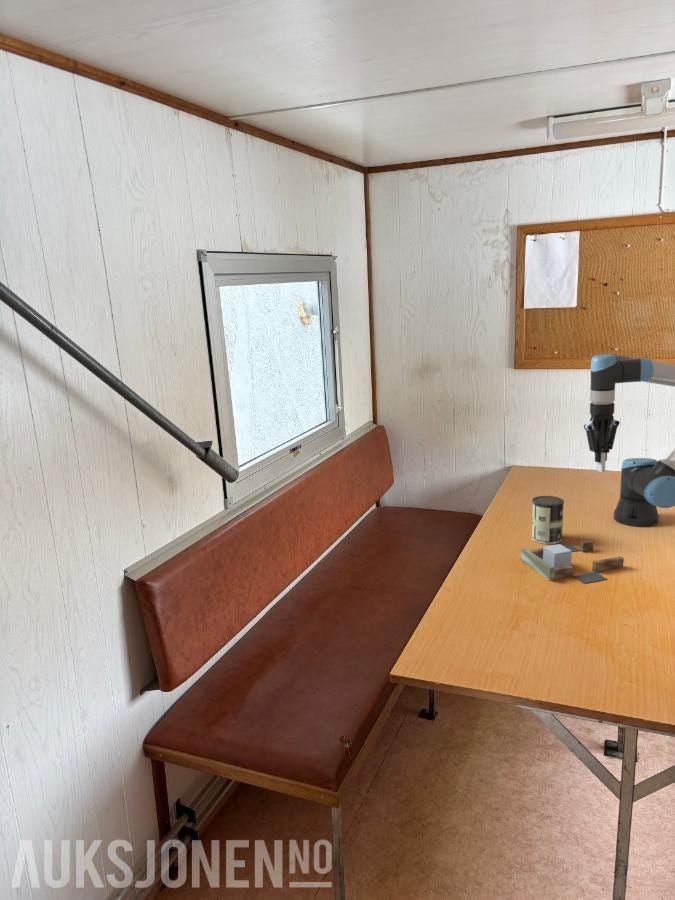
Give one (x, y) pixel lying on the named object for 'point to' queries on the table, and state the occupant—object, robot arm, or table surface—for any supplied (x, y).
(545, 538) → the coffee can
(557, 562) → the block
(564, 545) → the mat
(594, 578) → the mat
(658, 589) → the table surface
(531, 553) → the lane
